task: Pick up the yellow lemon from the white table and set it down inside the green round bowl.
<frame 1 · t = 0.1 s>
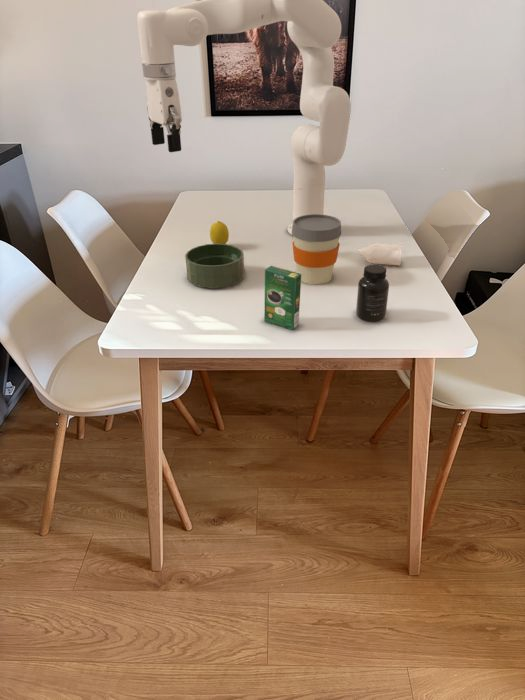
hand: (166, 147, 140), 31 cm above the table, tool pointing down, fingers open, 9 cm apart
supplement bottle: (370, 316, 130), on the table
coffee box: (282, 324, 127), on the table
reusable coffee cup: (314, 277, 148), on the table
green round bowl: (215, 277, 148), on the table
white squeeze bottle: (377, 263, 155), on the table
lemon: (220, 247, 166), on the table
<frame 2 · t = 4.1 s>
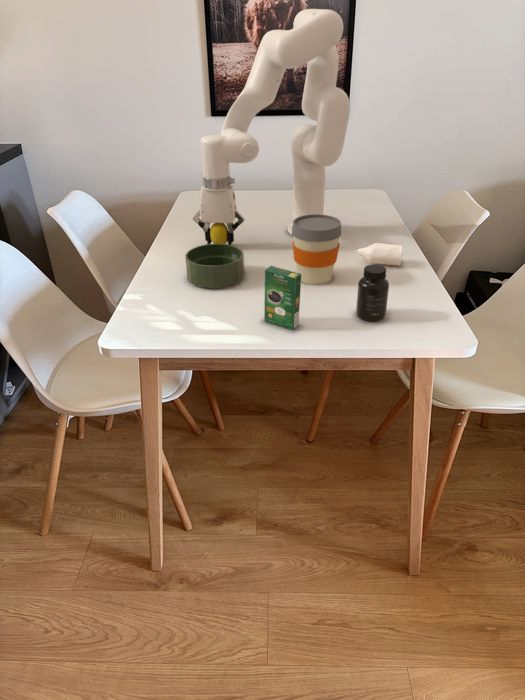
hand: (219, 243, 166), 1 cm above the table, tool pointing down, fingers closed on lemon, 5 cm apart
lemon: (220, 247, 166), on the table, touching gripper
everything else where it was.
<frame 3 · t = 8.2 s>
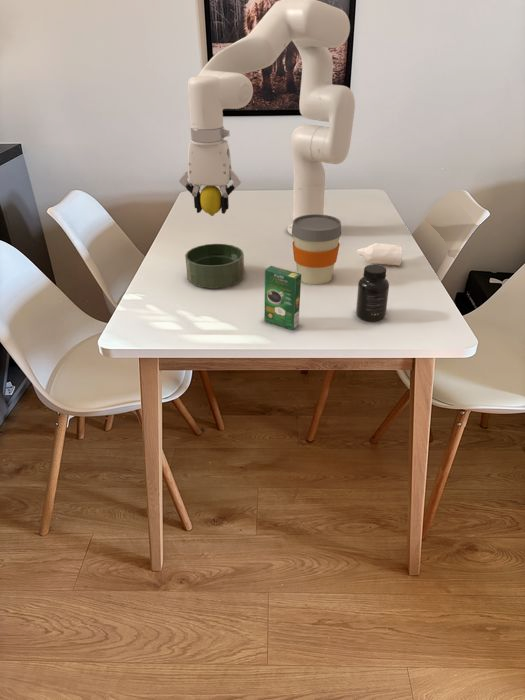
hand: (211, 210, 139), 18 cm above the table, tool pointing down, fingers closed on lemon, 5 cm apart
lemon: (212, 216, 140), point 16 cm above the table, touching gripper
everything else where it was.
when the fingers open (3 cm above the table, at t = 12.7 s): lemon stays where it is, resting on green round bowl.
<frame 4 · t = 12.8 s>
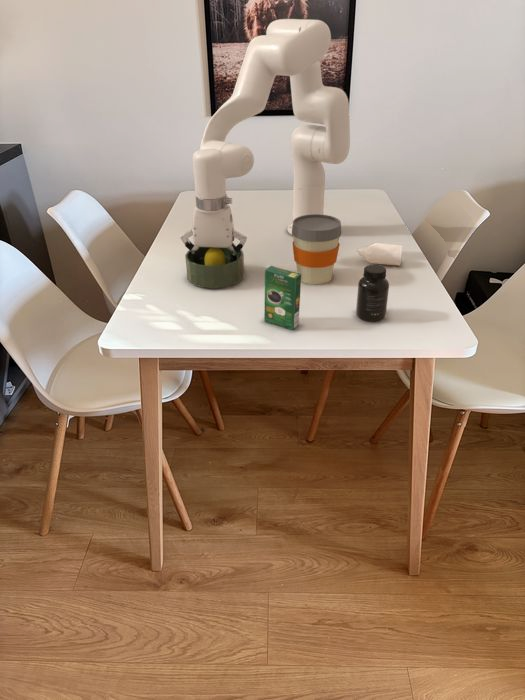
hand: (215, 266, 147), 3 cm above the table, tool pointing down, fingers open, 9 cm apart
lemon: (215, 275, 148), resting on green round bowl
everything else where it was.
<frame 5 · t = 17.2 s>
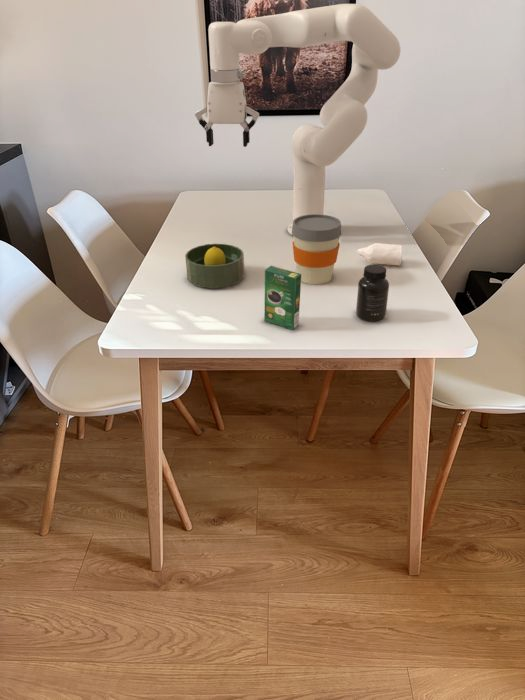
hand: (228, 145, 154), 28 cm above the table, tool pointing down, fingers open, 9 cm apart
nothing on the table moved.
at the end: lemon inside the target area in the green round bowl (0.0 cm from its centre), point 0.4 cm above the green round bowl's base; the gripper is holding nothing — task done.
